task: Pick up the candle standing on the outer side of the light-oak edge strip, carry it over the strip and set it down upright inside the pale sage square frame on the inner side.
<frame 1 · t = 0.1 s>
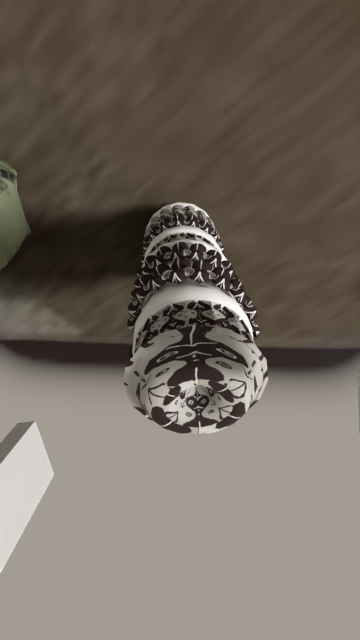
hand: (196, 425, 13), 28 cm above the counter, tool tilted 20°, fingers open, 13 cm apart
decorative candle: (180, 238, 37), on the counter
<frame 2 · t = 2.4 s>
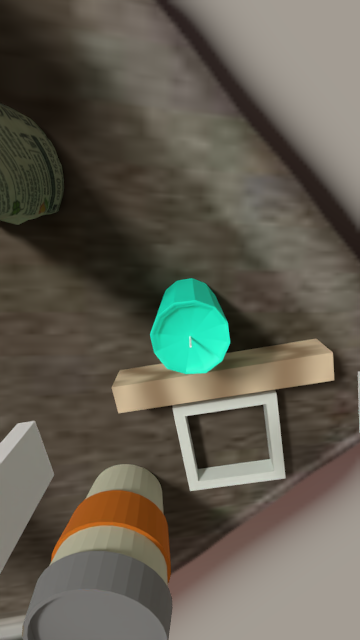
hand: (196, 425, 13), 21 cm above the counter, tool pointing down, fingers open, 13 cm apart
reusable coffee cup: (128, 491, 40), on the counter
pouch: (6, 173, 30), on the counter
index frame: (228, 433, 37), on the counter
candle: (188, 305, 33), on the counter
edge strip: (217, 367, 35), on the counter
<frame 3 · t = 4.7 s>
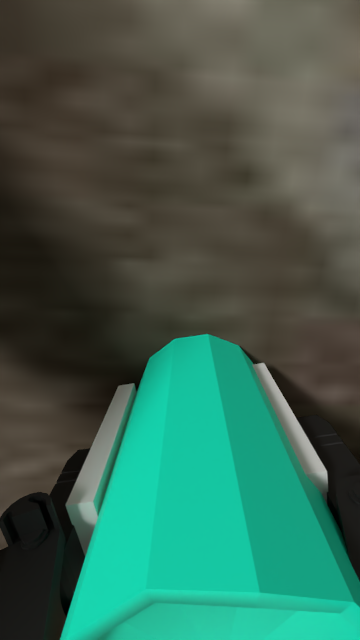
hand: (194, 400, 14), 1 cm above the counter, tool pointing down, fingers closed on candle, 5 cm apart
candle: (199, 389, 15), on the counter, touching gripper
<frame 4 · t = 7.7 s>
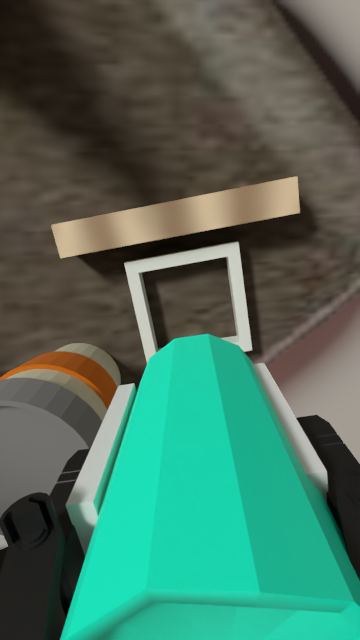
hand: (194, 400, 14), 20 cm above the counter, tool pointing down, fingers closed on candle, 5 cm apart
reusable coffee cup: (83, 377, 37), on the counter
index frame: (190, 303, 34), on the counter
candle: (199, 389, 15), point 19 cm above the counter, touching gripper
edge strip: (175, 220, 31), on the counter
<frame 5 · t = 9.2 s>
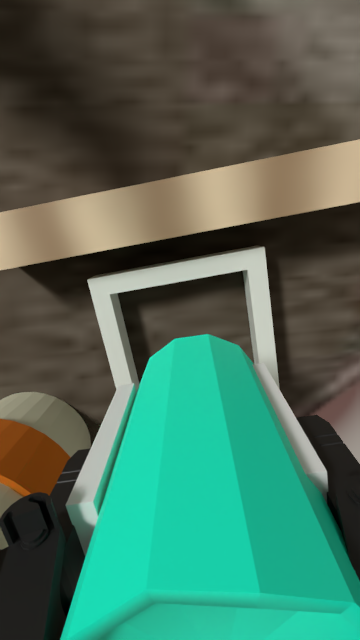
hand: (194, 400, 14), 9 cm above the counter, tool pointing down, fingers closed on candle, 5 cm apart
reusable coffee cup: (38, 438, 26), on the counter
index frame: (189, 337, 23), on the counter
candle: (199, 389, 15), point 8 cm above the counter, touching gripper
edge strip: (166, 214, 21), on the counter
when the fingers open (2 cm above the counter, at t = 10.6 s): candle drops 1 cm, resting in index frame.
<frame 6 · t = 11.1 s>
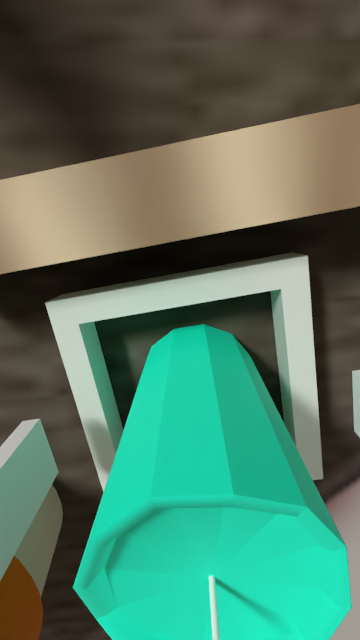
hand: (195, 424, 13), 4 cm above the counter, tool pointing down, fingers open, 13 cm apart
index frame: (193, 378, 17), on the counter
candle: (197, 375, 17), resting in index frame
edge strip: (161, 207, 14), on the counter
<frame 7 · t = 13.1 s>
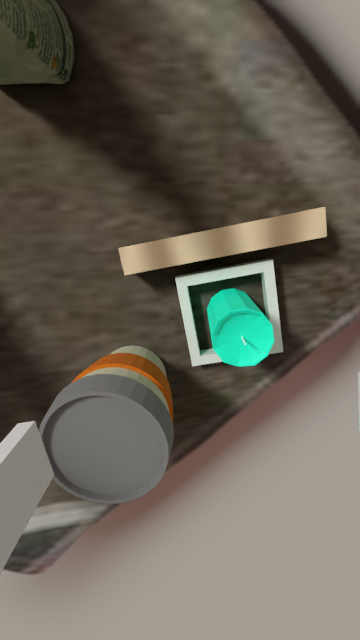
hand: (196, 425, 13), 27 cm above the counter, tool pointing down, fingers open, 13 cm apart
reusable coffee cup: (134, 375, 42), on the counter
pouch: (22, 47, 33), on the counter
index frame: (228, 311, 39), on the counter
candle: (230, 311, 39), resting in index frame
edge strip: (217, 241, 37), on the counter
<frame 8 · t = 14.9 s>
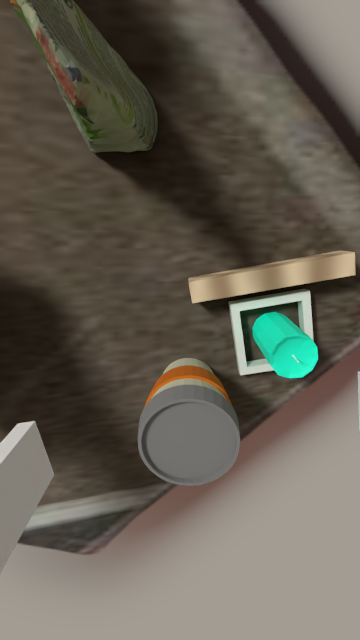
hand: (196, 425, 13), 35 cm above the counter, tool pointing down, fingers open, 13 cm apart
reusable coffee cup: (188, 382, 51), on the counter
pouch: (114, 120, 40), on the counter
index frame: (270, 330, 48), on the counter
candle: (271, 330, 48), resting in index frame
edge strip: (264, 274, 45), on the counter
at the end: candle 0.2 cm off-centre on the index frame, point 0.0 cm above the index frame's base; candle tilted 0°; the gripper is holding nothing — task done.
